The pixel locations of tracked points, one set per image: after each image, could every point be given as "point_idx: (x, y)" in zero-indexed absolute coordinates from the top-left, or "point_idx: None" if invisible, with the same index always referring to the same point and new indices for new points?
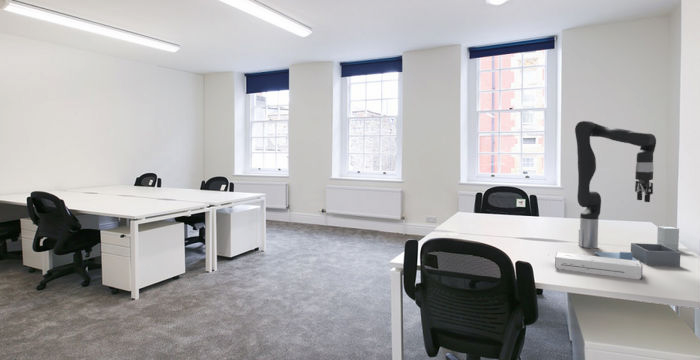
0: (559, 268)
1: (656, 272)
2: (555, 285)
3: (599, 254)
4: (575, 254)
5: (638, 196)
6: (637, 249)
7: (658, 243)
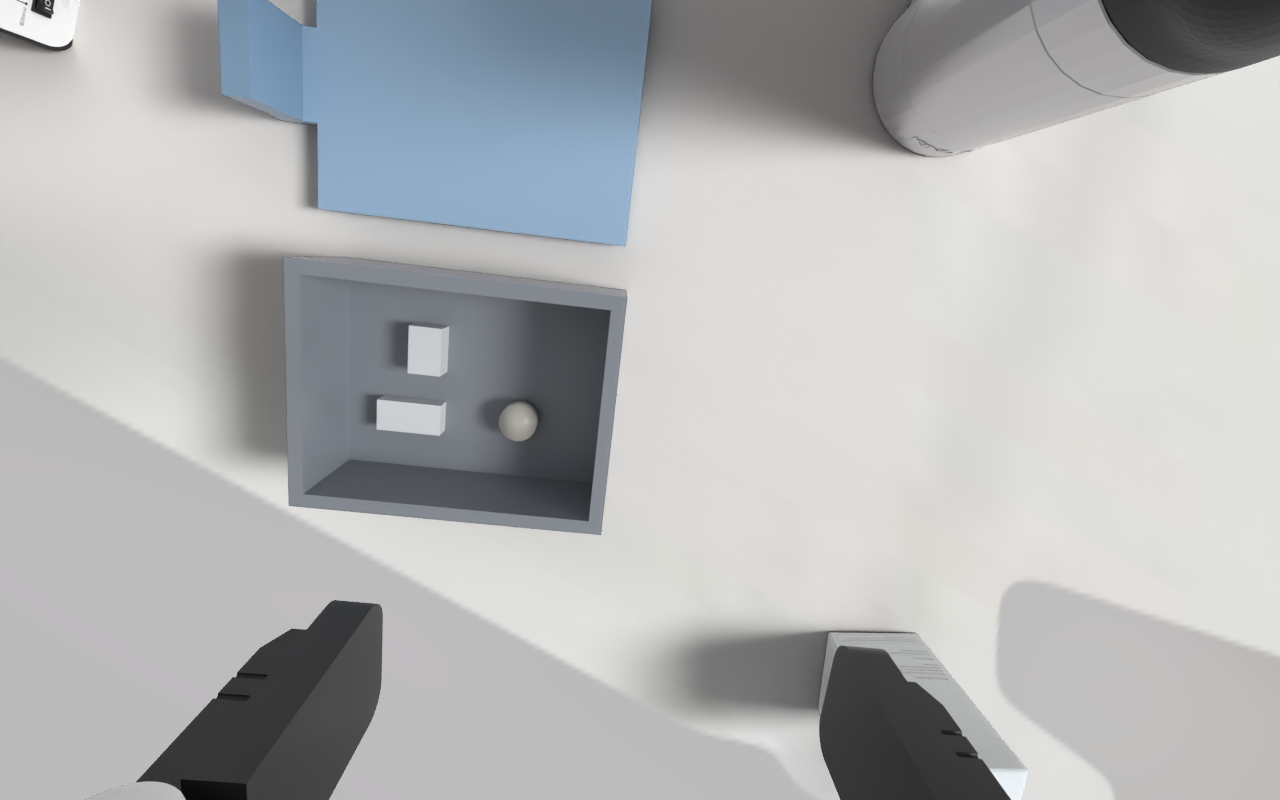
0: None
1: (128, 207)
2: None
3: None
4: None
5: (885, 746)
6: (489, 279)
7: (914, 653)
